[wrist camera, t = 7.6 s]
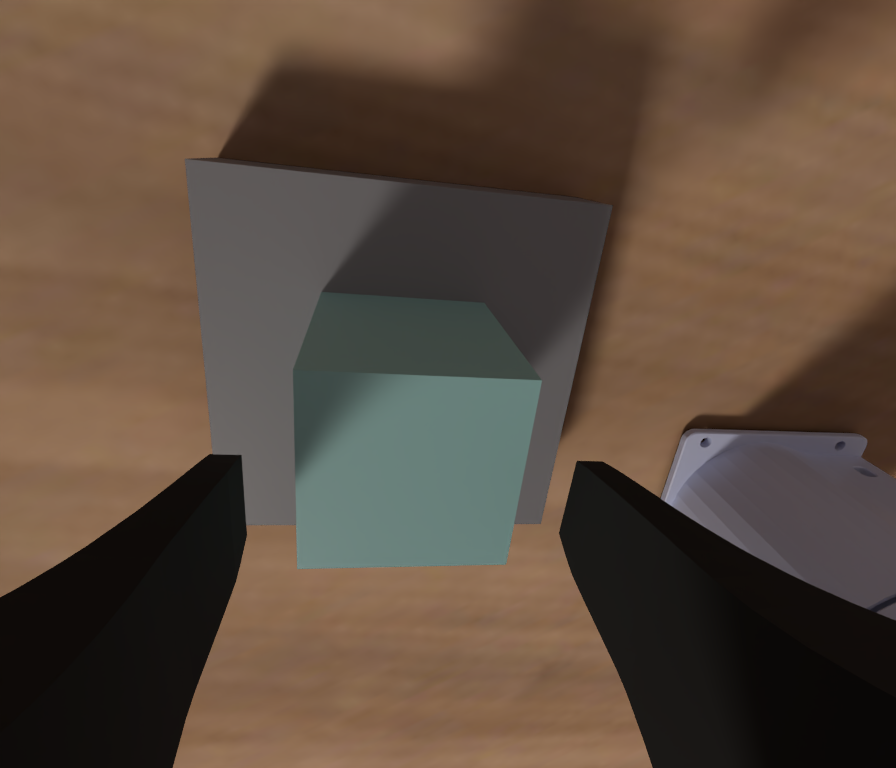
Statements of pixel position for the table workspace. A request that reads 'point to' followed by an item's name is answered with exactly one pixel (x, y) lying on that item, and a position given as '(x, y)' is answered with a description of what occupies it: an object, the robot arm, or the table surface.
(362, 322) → the teal block
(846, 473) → the robot arm
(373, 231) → the plinth
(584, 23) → the table surface
